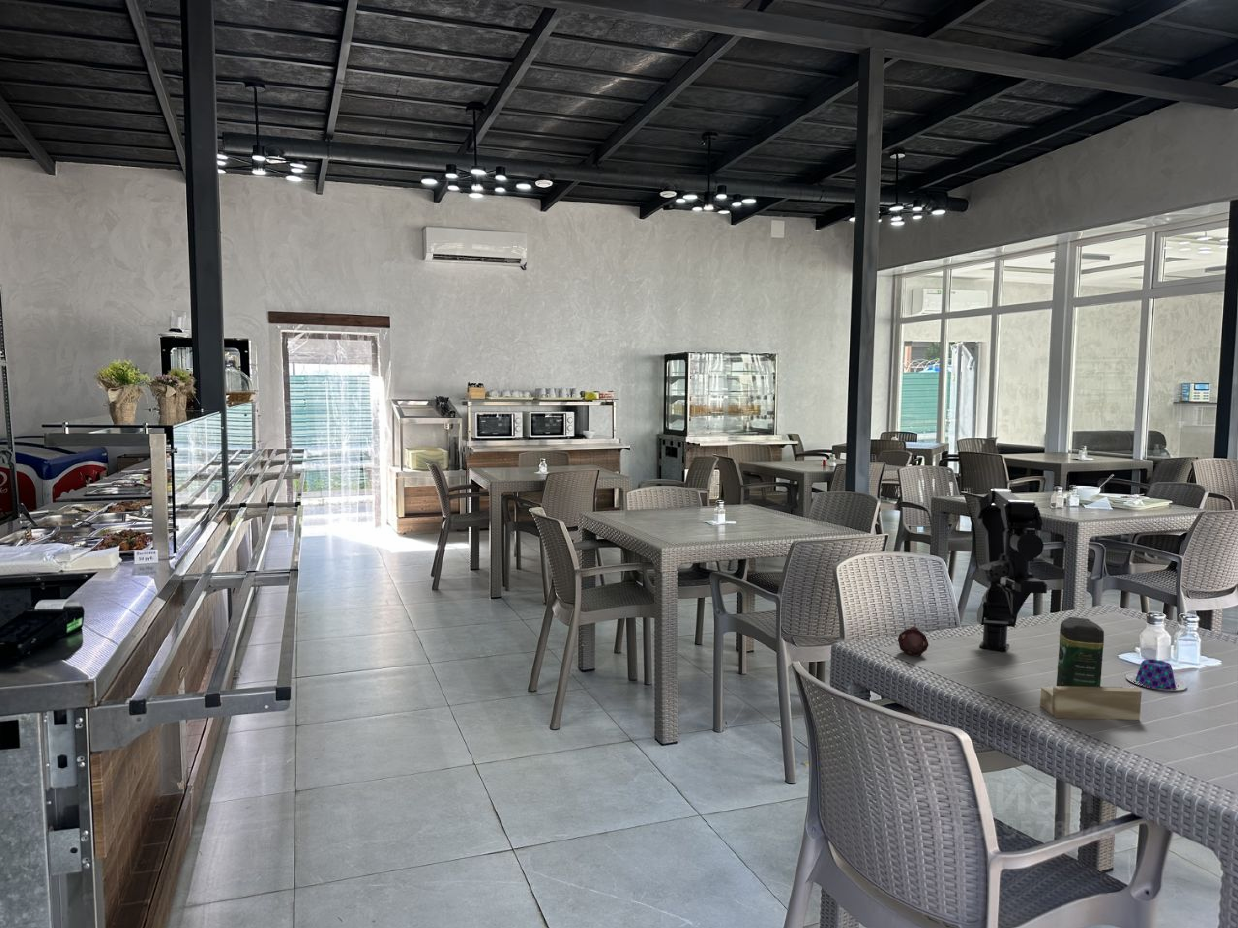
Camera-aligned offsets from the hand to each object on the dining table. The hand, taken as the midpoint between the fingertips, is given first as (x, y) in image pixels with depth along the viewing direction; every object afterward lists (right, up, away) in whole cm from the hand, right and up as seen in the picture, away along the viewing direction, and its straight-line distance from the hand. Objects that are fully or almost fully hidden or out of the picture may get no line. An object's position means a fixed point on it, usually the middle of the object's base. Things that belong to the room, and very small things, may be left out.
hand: (1014, 614), depth 203 cm
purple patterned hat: (+29, -15, -9) cm, 34 cm away
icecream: (-21, -12, +9) cm, 26 cm away
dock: (+2, -15, -28) cm, 32 cm away
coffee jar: (+2, -15, -24) cm, 28 cm away
